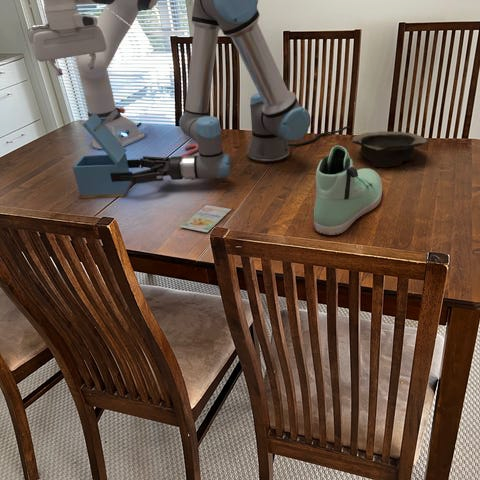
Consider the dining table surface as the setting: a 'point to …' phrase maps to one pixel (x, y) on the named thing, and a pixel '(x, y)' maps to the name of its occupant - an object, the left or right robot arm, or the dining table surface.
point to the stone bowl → (388, 147)
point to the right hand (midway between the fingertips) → (116, 170)
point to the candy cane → (190, 150)
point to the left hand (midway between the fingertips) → (76, 72)
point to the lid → (105, 136)
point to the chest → (100, 176)
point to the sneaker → (343, 192)
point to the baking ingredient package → (206, 218)
